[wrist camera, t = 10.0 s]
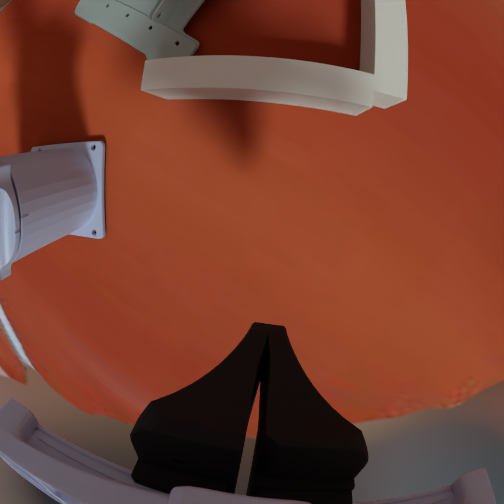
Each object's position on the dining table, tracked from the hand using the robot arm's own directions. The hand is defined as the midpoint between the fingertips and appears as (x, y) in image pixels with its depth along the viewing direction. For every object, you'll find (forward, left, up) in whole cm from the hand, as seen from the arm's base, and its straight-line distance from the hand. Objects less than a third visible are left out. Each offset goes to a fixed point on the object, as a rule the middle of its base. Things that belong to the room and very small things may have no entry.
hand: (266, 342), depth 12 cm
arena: (-2, +23, -9) cm, 24 cm away
